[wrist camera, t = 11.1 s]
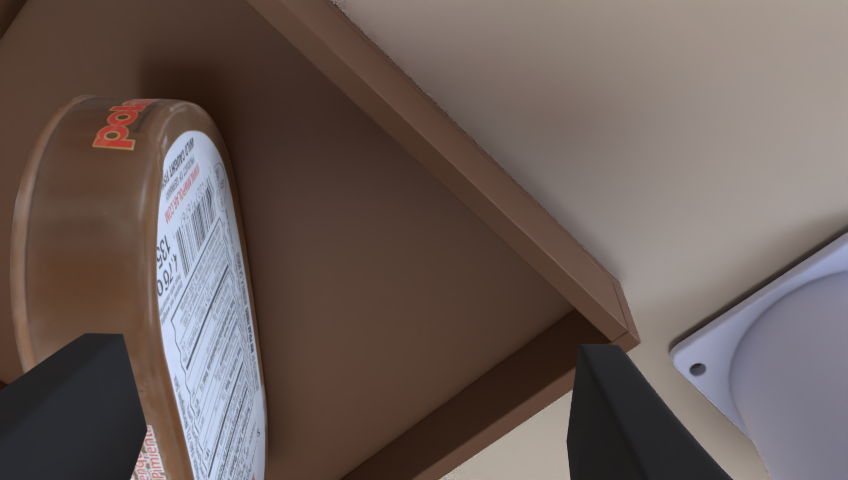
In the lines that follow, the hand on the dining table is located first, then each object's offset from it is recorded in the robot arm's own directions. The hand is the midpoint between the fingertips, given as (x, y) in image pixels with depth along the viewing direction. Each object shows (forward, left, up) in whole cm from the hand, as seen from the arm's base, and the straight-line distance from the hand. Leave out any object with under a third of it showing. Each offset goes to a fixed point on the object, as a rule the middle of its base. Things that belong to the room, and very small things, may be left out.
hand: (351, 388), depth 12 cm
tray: (+1, +8, -10) cm, 13 cm away
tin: (+1, +7, -10) cm, 13 cm away
